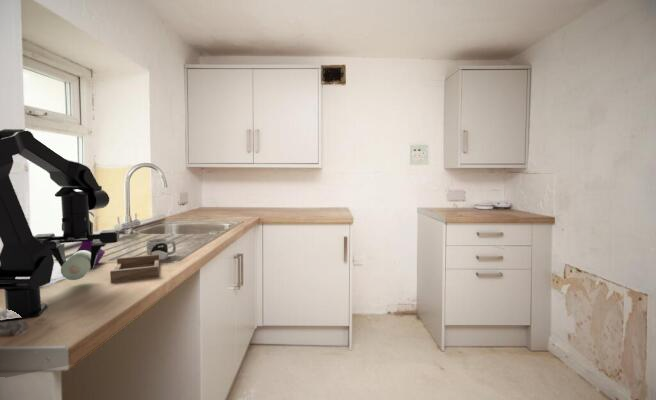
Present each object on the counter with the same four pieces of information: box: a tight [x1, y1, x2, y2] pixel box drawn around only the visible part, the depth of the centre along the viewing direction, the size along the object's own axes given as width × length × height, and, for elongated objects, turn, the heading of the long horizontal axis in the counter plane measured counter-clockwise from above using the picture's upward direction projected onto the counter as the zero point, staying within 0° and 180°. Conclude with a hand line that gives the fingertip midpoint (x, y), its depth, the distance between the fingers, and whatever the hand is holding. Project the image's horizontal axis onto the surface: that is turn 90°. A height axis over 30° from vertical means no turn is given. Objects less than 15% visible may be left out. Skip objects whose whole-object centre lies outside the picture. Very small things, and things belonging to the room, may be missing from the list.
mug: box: [146, 238, 177, 262], centre depth 121 cm, size 10×7×7 cm, turn 141°
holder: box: [109, 254, 160, 283], centre depth 105 cm, size 16×12×3 cm
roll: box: [60, 250, 91, 281], centre depth 91 cm, size 10×6×6 cm, turn 26°
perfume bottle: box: [74, 210, 106, 266], centre depth 111 cm, size 8×8×18 cm
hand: (79, 270), depth 91 cm, fingers closed on roll, 6 cm apart
